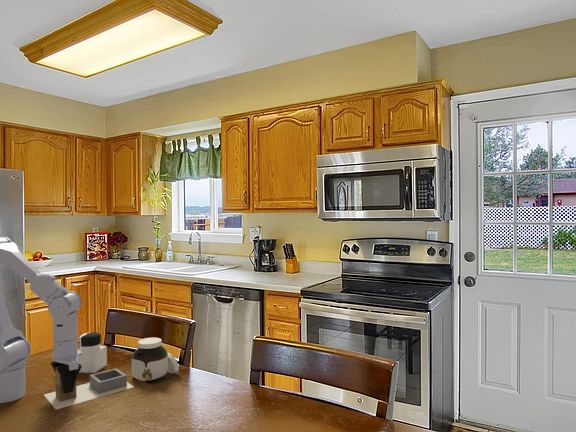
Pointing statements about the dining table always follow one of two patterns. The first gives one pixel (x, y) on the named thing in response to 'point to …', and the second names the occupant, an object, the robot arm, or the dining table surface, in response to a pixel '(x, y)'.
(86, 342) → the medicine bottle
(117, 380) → the board
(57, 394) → the rail post
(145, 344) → the spread jar
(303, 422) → the dining table surface
